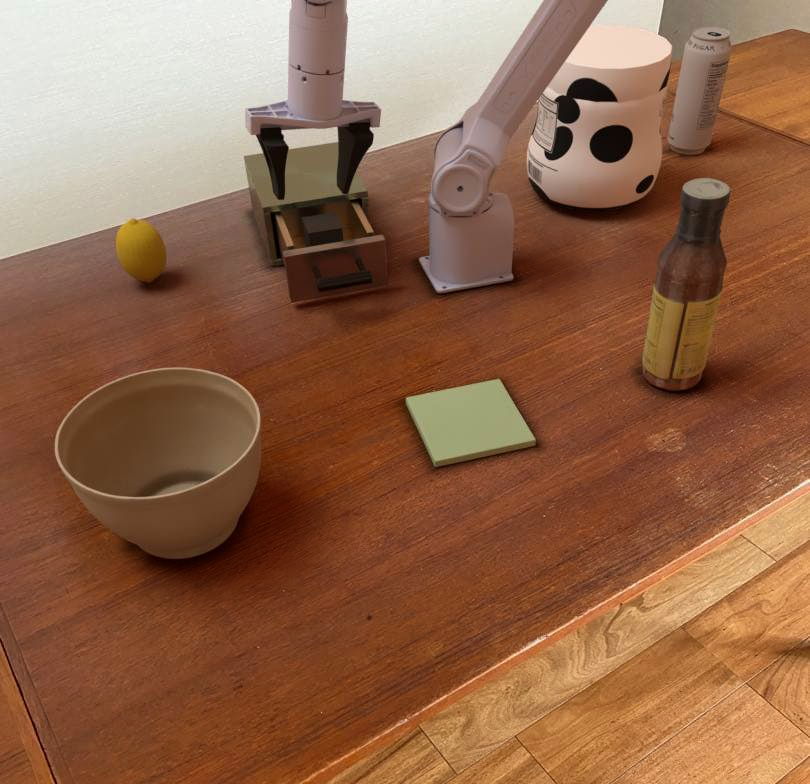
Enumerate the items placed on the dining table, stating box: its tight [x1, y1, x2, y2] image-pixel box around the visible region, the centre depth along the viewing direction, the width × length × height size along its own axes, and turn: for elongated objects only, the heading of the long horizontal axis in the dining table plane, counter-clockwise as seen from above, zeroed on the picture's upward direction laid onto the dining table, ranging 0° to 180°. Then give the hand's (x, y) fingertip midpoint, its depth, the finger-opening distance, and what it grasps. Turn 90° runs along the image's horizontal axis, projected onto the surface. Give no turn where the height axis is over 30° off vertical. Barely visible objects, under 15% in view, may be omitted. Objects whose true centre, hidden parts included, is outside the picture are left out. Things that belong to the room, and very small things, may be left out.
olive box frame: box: [243, 141, 371, 267], centre depth 109 cm, size 15×13×8 cm
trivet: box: [405, 378, 537, 468], centre depth 84 cm, size 10×10×1 cm
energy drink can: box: [667, 26, 733, 156], centre depth 120 cm, size 6×6×15 cm
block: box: [302, 212, 343, 248], centre depth 102 cm, size 4×4×4 cm
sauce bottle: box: [641, 177, 731, 392], centre depth 82 cm, size 7×6×20 cm
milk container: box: [526, 24, 673, 212], centre depth 110 cm, size 17×17×18 cm
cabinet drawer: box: [272, 199, 388, 303], centre depth 101 cm, size 18×11×6 cm, turn 16°
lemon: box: [115, 217, 167, 284], centre depth 101 cm, size 6×6×8 cm
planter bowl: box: [54, 367, 262, 560], centre depth 73 cm, size 16×16×11 cm
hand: (311, 192), depth 98 cm, fingers open, 7 cm apart
